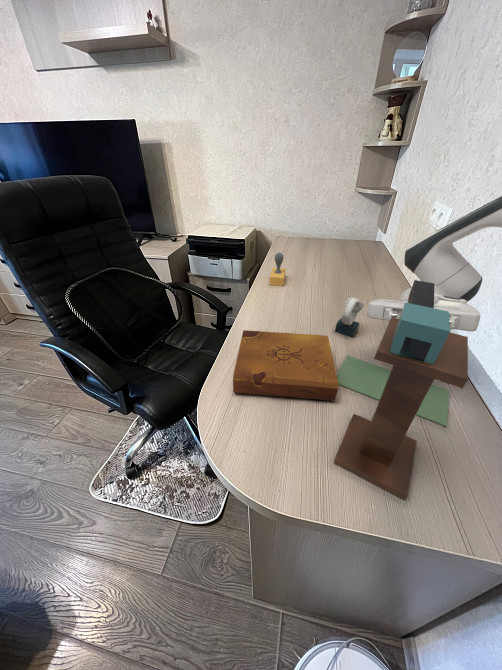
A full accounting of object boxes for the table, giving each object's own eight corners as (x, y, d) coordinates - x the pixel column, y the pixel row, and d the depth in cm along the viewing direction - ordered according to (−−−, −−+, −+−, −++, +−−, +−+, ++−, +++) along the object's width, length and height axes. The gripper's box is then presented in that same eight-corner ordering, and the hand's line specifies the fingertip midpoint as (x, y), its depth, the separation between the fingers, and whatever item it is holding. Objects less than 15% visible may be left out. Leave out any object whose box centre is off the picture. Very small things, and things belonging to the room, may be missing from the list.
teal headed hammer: (434, 300, 47) (446, 272, 44) (433, 365, 34) (450, 331, 31) (402, 294, 49) (412, 267, 46) (389, 352, 36) (401, 319, 33)
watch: (359, 328, 87) (367, 297, 81) (350, 340, 82) (358, 308, 76) (342, 322, 90) (349, 292, 84) (332, 334, 85) (338, 302, 78)
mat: (448, 391, 65) (449, 389, 65) (446, 427, 57) (446, 426, 57) (347, 356, 76) (347, 355, 76) (332, 382, 68) (332, 381, 67)
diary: (233, 395, 64) (232, 377, 61) (243, 346, 80) (243, 330, 76) (334, 403, 62) (339, 384, 59) (324, 351, 78) (328, 334, 74)
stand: (414, 445, 54) (476, 335, 39) (404, 500, 45) (479, 388, 31) (352, 417, 59) (385, 312, 44) (333, 463, 51) (367, 351, 36)
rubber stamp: (283, 286, 113) (285, 257, 106) (269, 285, 114) (270, 256, 107) (285, 276, 121) (287, 249, 114) (271, 275, 122) (273, 248, 115)
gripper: (372, 291, 69) (364, 299, 57) (475, 300, 59) (490, 312, 48) (368, 315, 71) (360, 328, 59) (467, 328, 61) (480, 346, 50)
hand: (419, 321), depth 53 cm, fingers open, 8 cm apart
